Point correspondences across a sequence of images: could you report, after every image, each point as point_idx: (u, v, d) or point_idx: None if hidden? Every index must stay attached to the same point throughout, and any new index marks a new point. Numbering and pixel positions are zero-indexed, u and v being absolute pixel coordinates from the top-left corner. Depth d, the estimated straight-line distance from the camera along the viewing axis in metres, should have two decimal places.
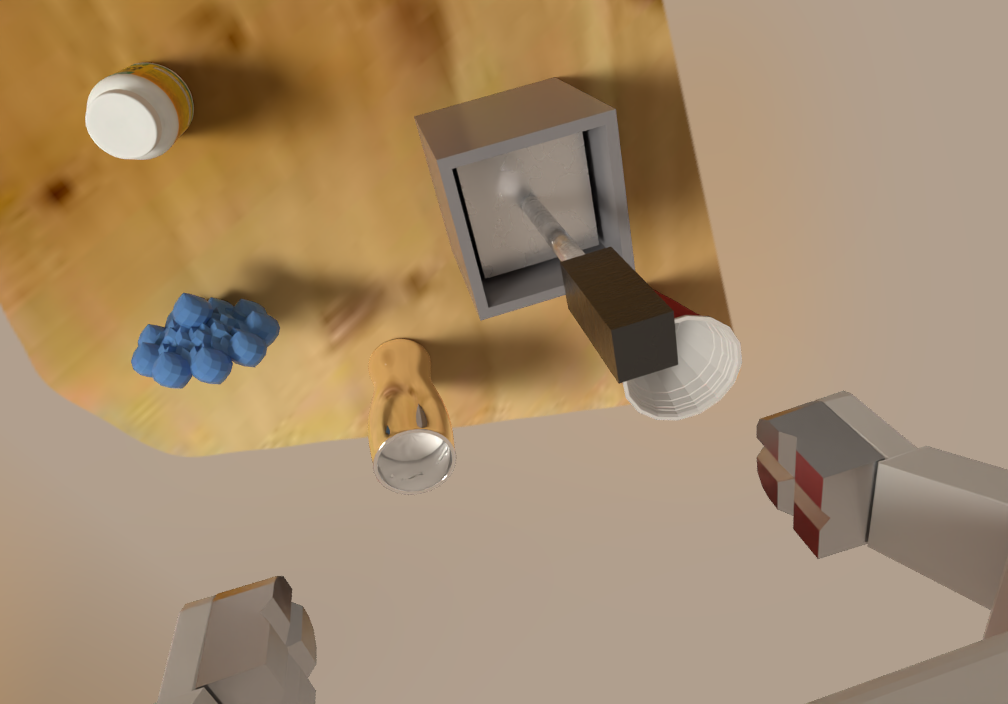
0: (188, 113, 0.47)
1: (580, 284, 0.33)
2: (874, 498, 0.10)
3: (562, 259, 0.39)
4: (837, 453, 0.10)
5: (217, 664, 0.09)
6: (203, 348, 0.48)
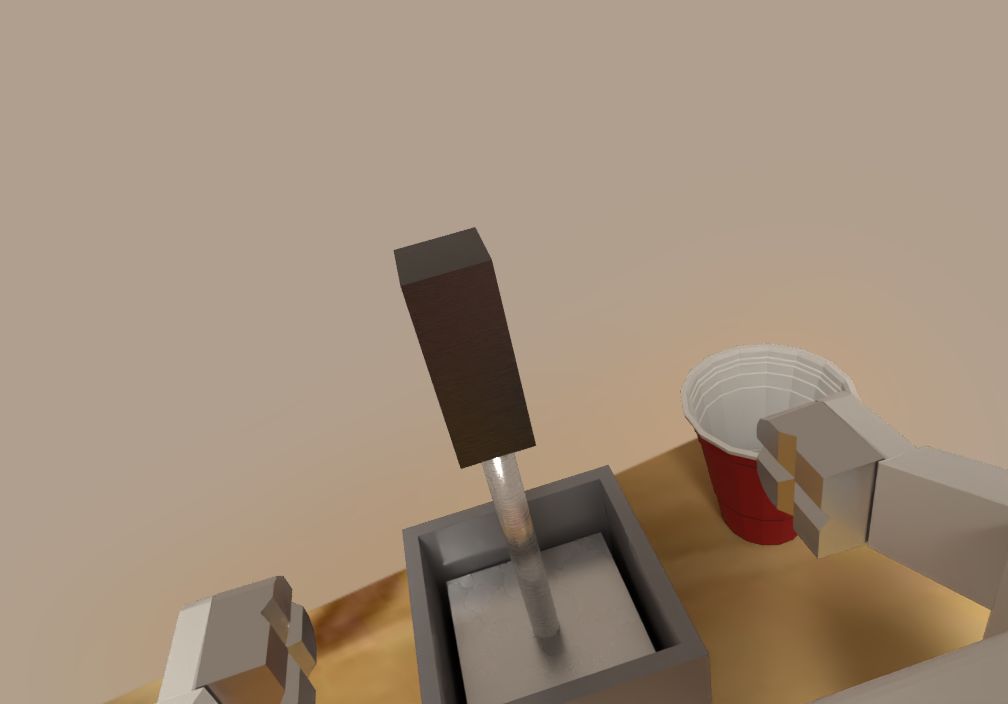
0: None
1: None
2: (873, 498, 0.10)
3: (505, 496, 0.27)
4: (837, 453, 0.10)
5: (217, 664, 0.09)
6: None
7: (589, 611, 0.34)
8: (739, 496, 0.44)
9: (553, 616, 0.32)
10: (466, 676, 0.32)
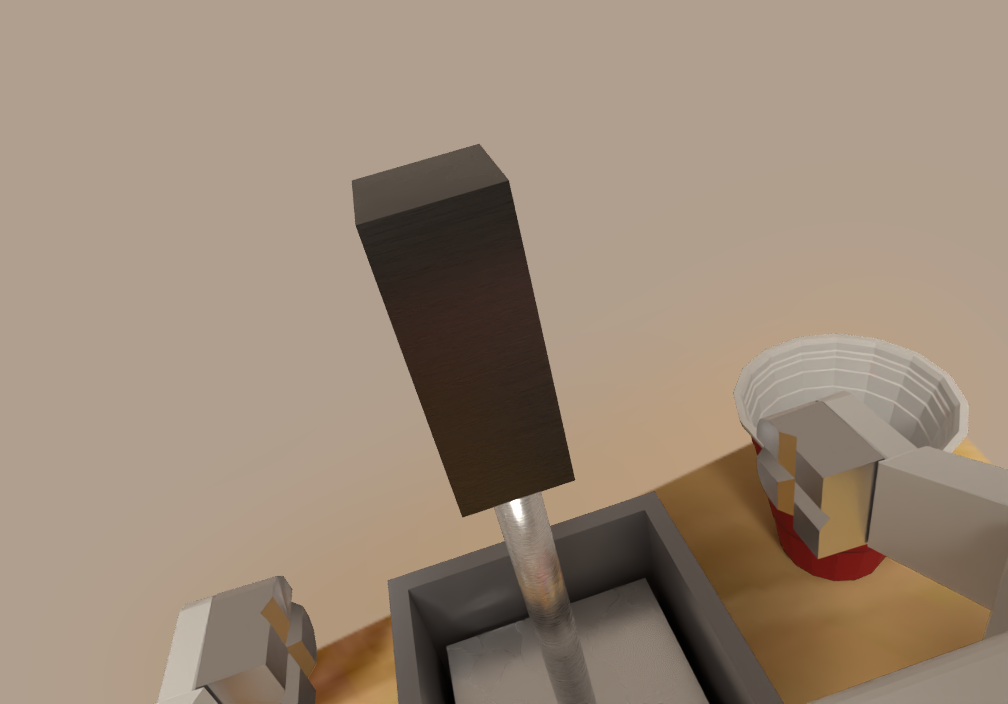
0: None
1: (426, 417, 0.15)
2: (873, 498, 0.10)
3: (528, 551, 0.19)
4: (837, 453, 0.10)
5: (218, 664, 0.09)
6: None
7: (638, 691, 0.25)
8: None
9: (591, 702, 0.24)
10: None
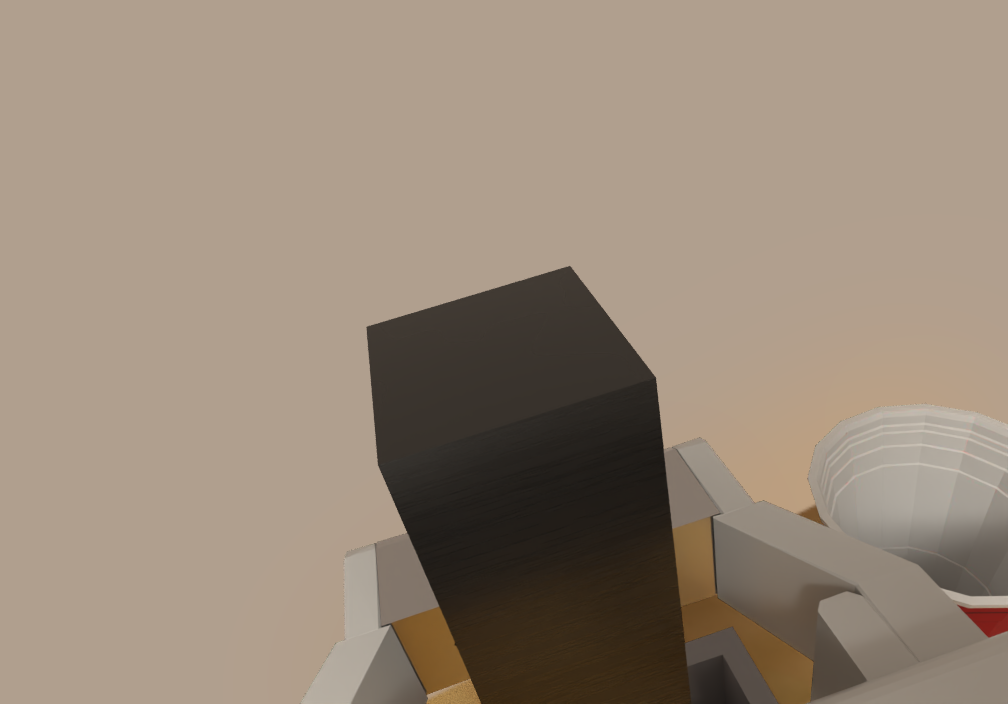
0: None
1: (482, 702, 0.09)
2: (715, 551, 0.09)
3: None
4: (676, 506, 0.09)
5: (399, 604, 0.09)
6: None
7: None
8: None
9: None
10: None
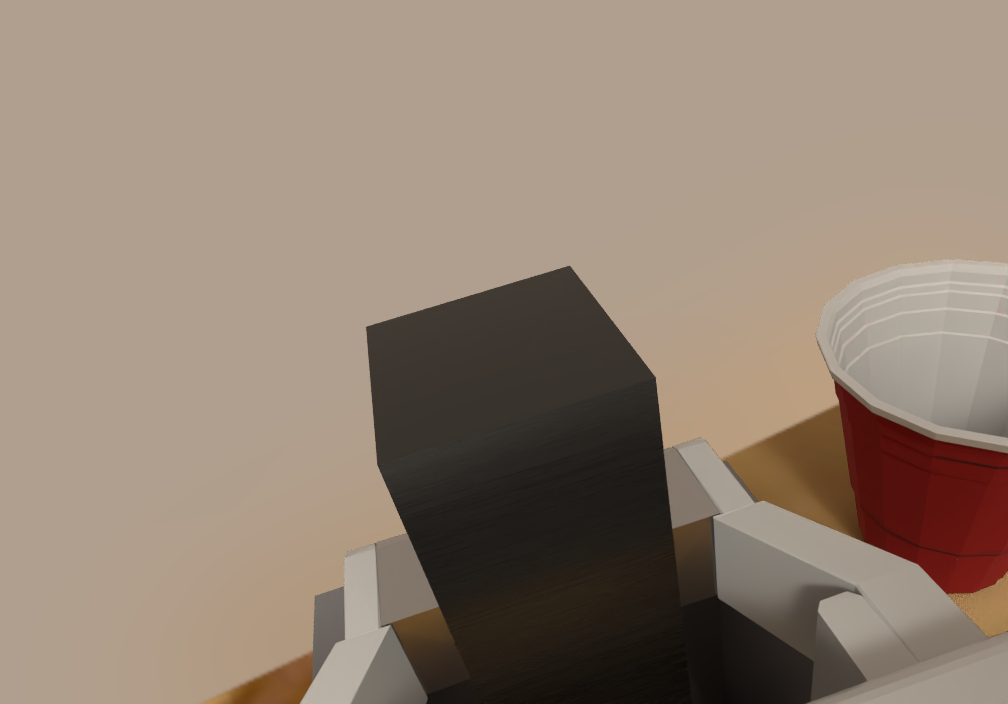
0: None
1: (483, 702, 0.09)
2: (715, 552, 0.09)
3: None
4: (676, 506, 0.09)
5: (399, 604, 0.09)
6: None
7: None
8: (923, 515, 0.25)
9: None
10: None
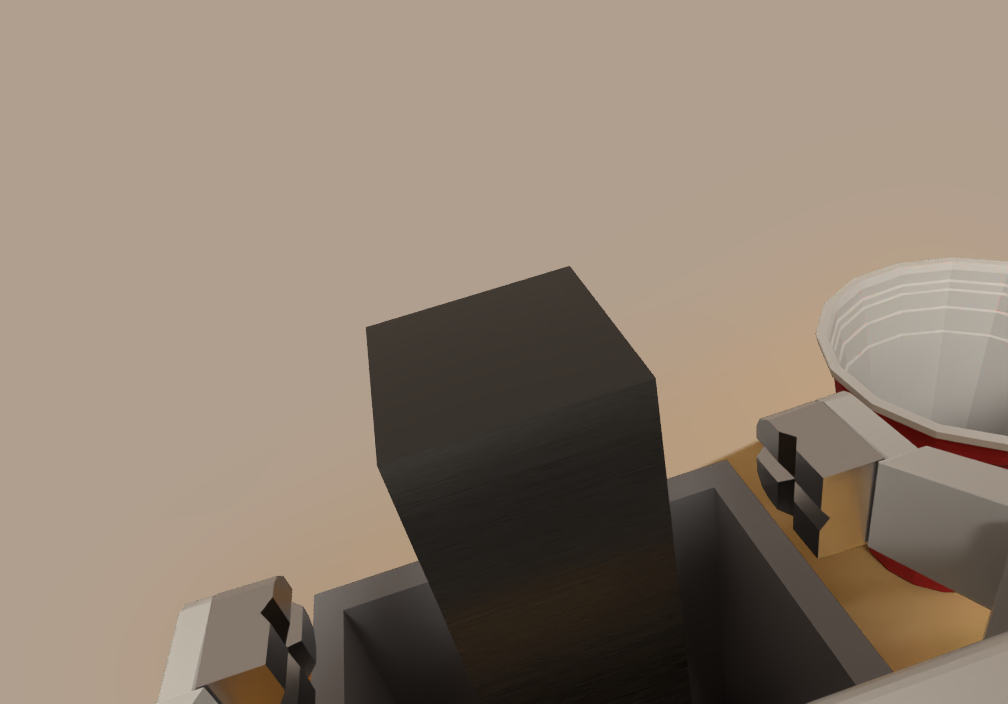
0: None
1: (483, 703, 0.09)
2: (873, 498, 0.10)
3: None
4: (837, 453, 0.10)
5: (217, 664, 0.09)
6: None
7: None
8: None
9: None
10: None
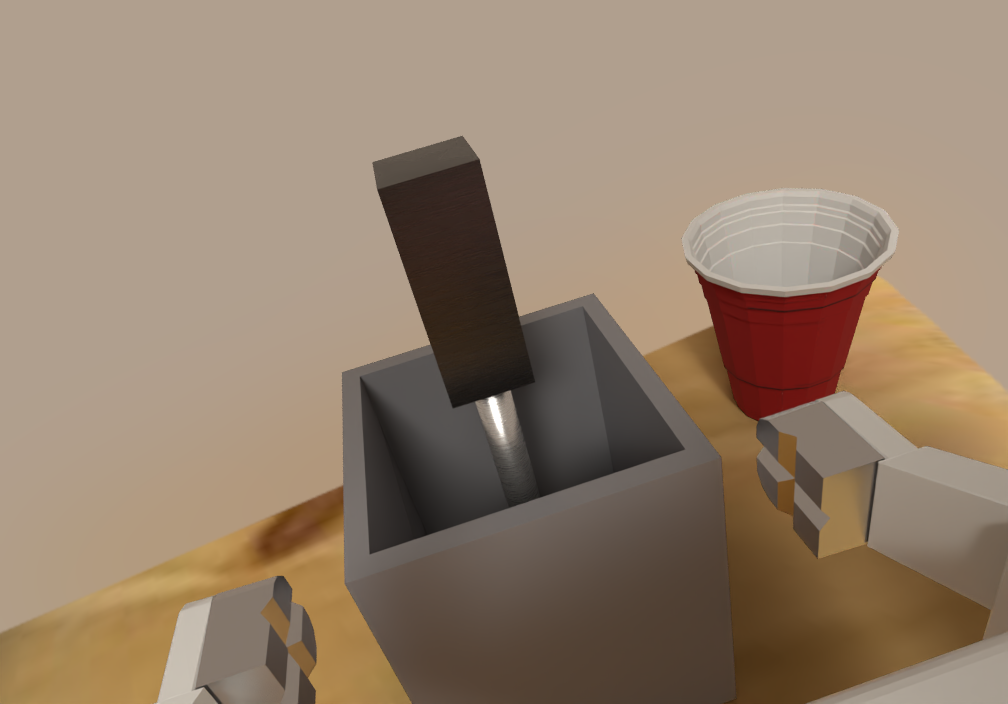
0: None
1: None
2: (873, 498, 0.10)
3: (504, 444, 0.25)
4: (837, 453, 0.10)
5: (218, 664, 0.09)
6: None
7: None
8: (754, 359, 0.37)
9: None
10: None
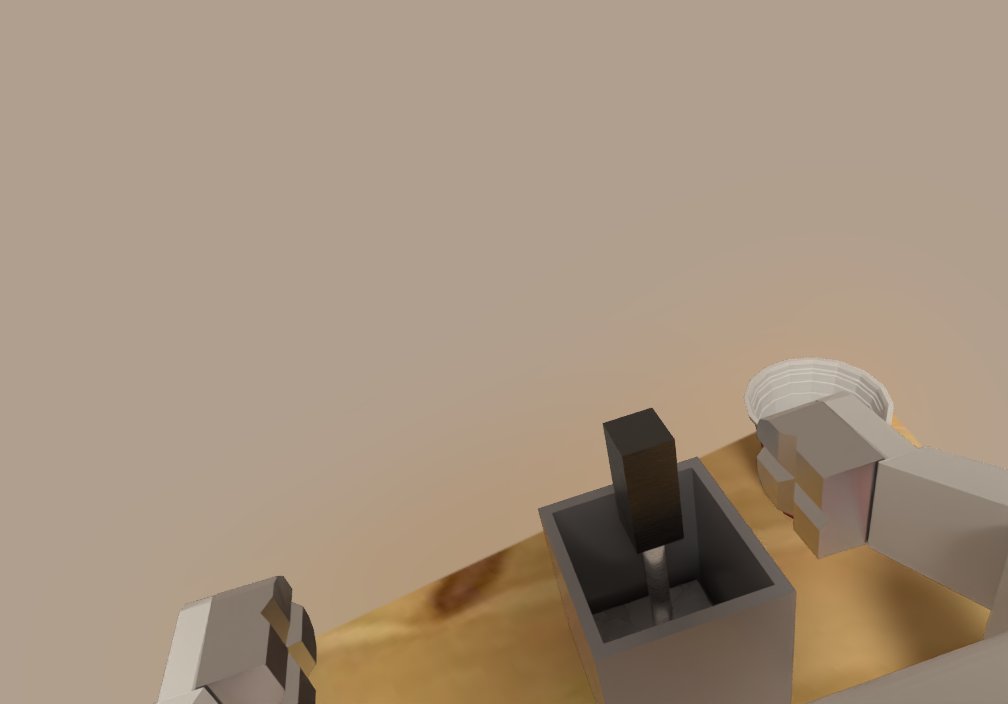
0: None
1: (630, 516, 0.38)
2: (873, 498, 0.10)
3: (657, 567, 0.42)
4: (837, 453, 0.10)
5: (218, 664, 0.09)
6: None
7: None
8: None
9: None
10: None
